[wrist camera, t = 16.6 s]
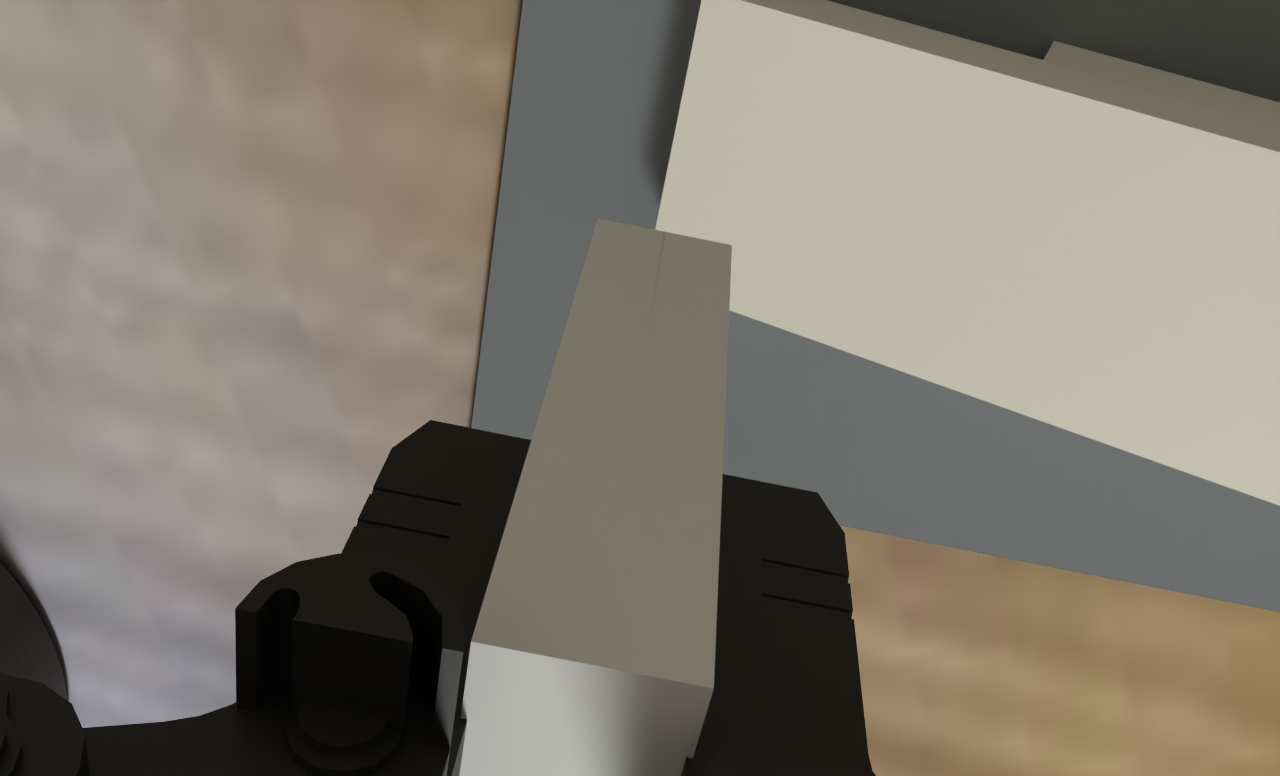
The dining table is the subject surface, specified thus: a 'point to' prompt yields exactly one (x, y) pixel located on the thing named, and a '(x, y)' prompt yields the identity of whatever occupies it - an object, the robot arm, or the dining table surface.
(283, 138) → the dining table surface
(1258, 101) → the domino
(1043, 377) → the domino
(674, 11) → the domino mat
